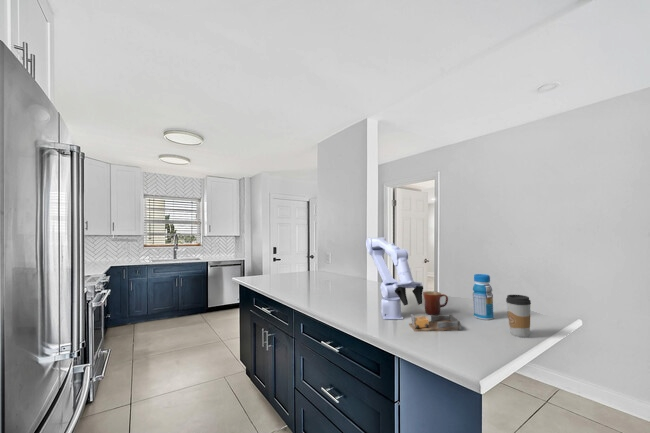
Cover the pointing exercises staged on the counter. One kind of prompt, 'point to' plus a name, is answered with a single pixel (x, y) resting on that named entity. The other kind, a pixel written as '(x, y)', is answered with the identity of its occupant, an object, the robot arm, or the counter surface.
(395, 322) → the counter surface
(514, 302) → the coffee cup
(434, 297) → the mug
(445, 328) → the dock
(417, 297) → the robot arm
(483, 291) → the beverage bottle
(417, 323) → the orange block with knobs
